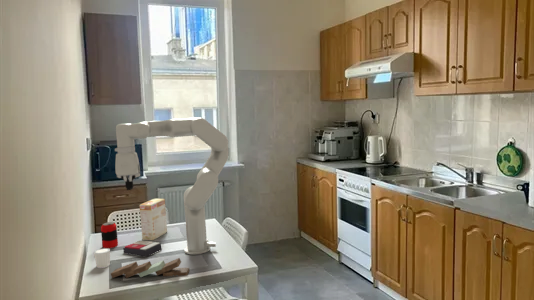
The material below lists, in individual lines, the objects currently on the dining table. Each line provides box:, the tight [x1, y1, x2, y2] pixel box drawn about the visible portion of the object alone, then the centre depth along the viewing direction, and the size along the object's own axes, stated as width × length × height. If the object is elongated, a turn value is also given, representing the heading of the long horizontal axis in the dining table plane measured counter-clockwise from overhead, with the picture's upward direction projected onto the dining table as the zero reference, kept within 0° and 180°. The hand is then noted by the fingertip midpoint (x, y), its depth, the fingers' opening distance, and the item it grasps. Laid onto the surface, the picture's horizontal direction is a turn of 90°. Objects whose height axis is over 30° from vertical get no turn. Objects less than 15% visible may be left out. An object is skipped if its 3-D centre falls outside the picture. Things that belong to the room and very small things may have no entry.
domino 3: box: [137, 260, 166, 278], centre depth 174 cm, size 2×5×10 cm
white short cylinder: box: [93, 248, 111, 269], centre depth 188 cm, size 7×7×7 cm
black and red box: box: [122, 240, 162, 258], centre depth 205 cm, size 11×4×15 cm
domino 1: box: [110, 261, 139, 279], centre depth 175 cm, size 2×5×10 cm
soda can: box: [100, 221, 119, 249], centre depth 215 cm, size 8×8×12 cm
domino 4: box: [155, 257, 182, 276], centre depth 175 cm, size 2×5×10 cm
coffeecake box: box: [139, 198, 168, 241], centre depth 229 cm, size 15×7×20 cm, turn 162°
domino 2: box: [124, 261, 153, 279], centre depth 175 cm, size 2×5×10 cm
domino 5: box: [162, 267, 190, 277], centre depth 175 cm, size 2×5×10 cm
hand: (129, 189), depth 193 cm, fingers closed
